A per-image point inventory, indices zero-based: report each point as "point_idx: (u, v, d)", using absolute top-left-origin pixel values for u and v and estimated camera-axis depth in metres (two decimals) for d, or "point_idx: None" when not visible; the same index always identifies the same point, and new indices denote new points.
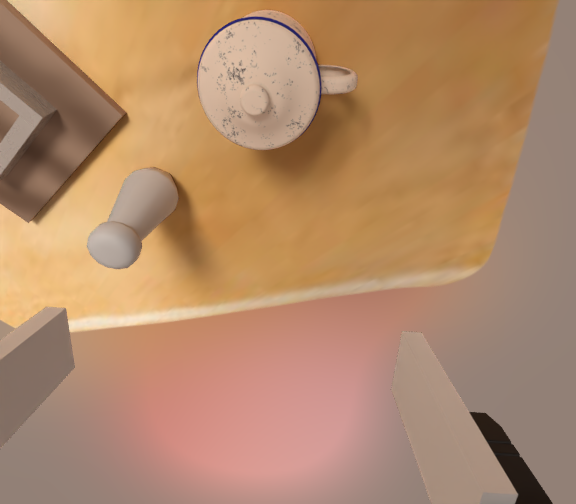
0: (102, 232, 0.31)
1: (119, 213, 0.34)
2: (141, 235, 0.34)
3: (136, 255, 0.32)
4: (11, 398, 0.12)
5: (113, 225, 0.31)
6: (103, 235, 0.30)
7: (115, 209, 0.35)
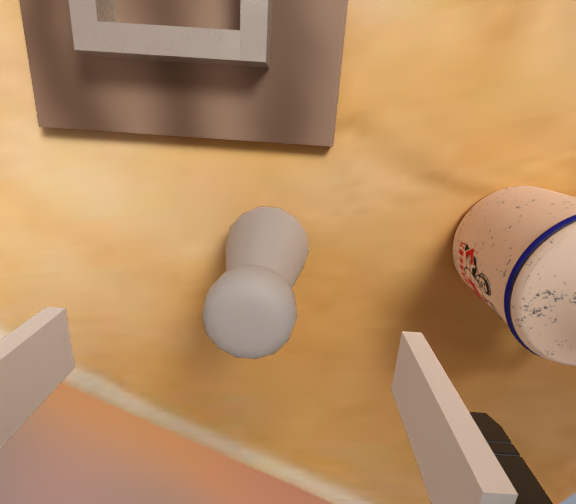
0: (277, 291, 0.16)
1: (274, 262, 0.19)
2: None
3: None
4: (11, 398, 0.12)
5: (287, 287, 0.17)
6: (275, 296, 0.16)
7: (261, 248, 0.20)
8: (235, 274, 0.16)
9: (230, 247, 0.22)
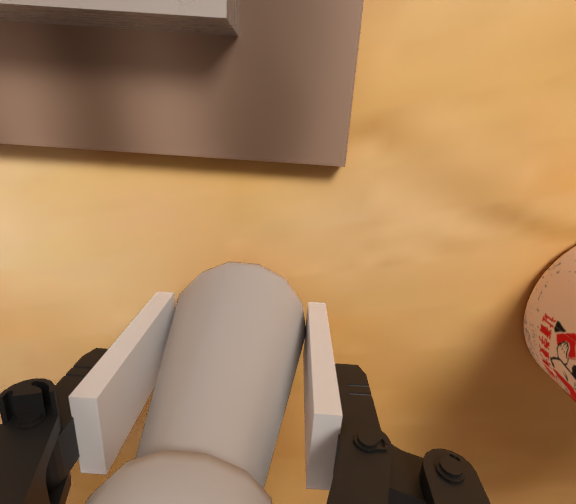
0: None
1: (238, 408, 0.10)
2: None
3: None
4: (148, 367, 0.13)
5: None
6: None
7: (216, 369, 0.10)
8: None
9: (167, 349, 0.12)
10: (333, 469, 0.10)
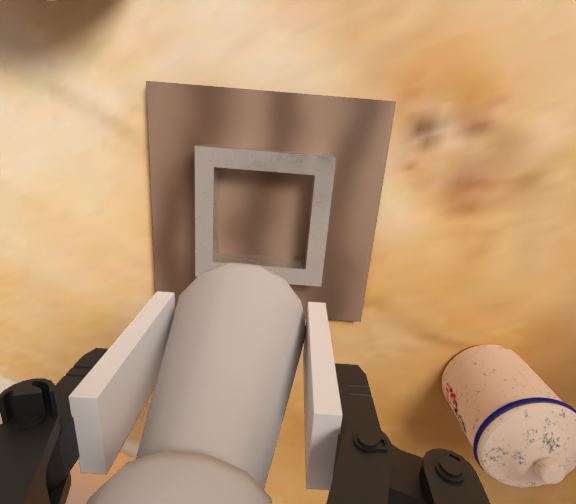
0: None
1: (239, 409, 0.10)
2: None
3: None
4: (148, 367, 0.13)
5: None
6: None
7: (216, 369, 0.10)
8: None
9: (167, 350, 0.12)
10: (333, 469, 0.10)
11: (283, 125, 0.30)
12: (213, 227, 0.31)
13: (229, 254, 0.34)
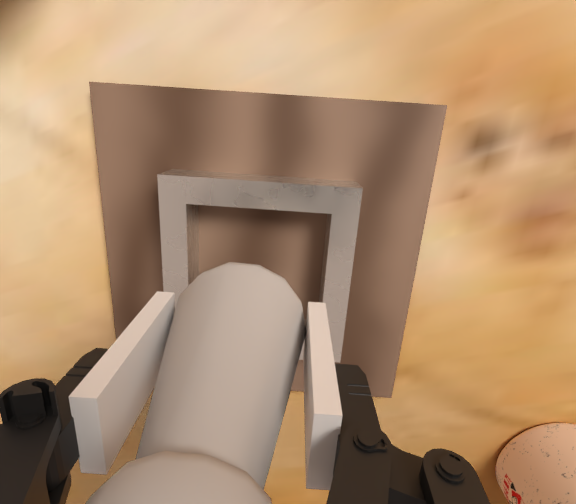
0: None
1: (238, 409, 0.10)
2: None
3: None
4: (148, 367, 0.13)
5: None
6: None
7: (216, 369, 0.10)
8: None
9: (167, 350, 0.12)
10: (333, 469, 0.10)
11: (285, 141, 0.21)
12: None
13: None
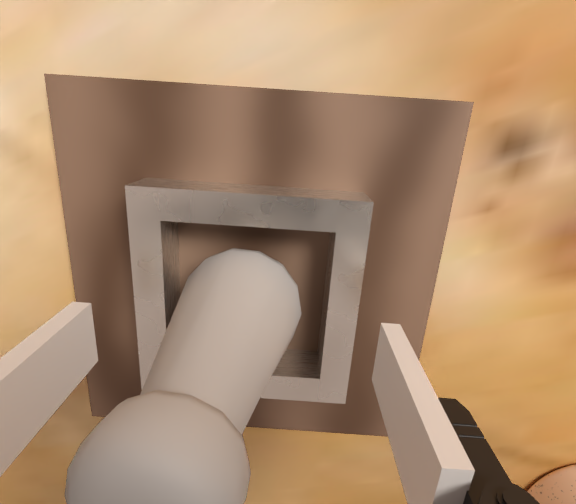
0: (196, 470, 0.08)
1: (224, 367, 0.11)
2: None
3: None
4: (44, 388, 0.12)
5: (228, 444, 0.09)
6: (192, 482, 0.08)
7: (209, 335, 0.12)
8: (122, 426, 0.08)
9: (172, 320, 0.14)
10: None
11: (280, 145, 0.18)
12: (166, 316, 0.18)
13: None
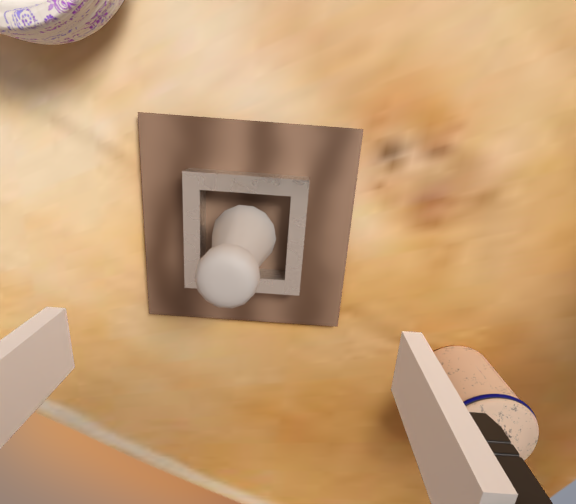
0: (245, 259, 0.24)
1: (246, 243, 0.27)
2: None
3: (243, 303, 0.25)
4: (11, 398, 0.12)
5: (253, 258, 0.25)
6: (244, 262, 0.23)
7: (237, 233, 0.28)
8: (217, 249, 0.24)
9: (215, 234, 0.30)
10: None
11: (262, 150, 0.33)
12: (200, 243, 0.34)
13: None
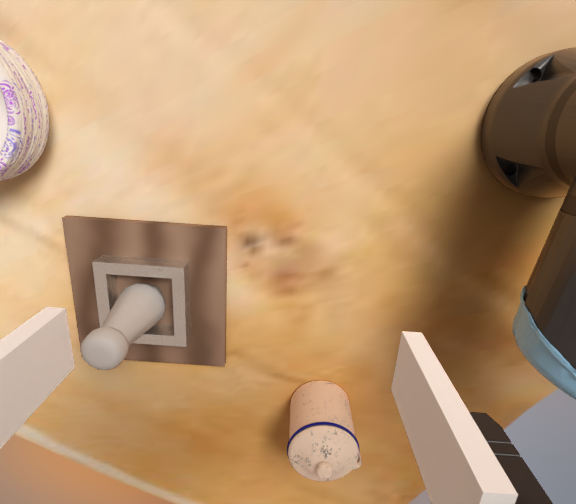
0: (111, 340, 0.36)
1: (124, 322, 0.39)
2: None
3: (115, 366, 0.37)
4: (11, 398, 0.12)
5: (120, 337, 0.37)
6: (110, 342, 0.36)
7: (120, 313, 0.40)
8: (94, 332, 0.36)
9: (110, 311, 0.42)
10: None
11: (154, 243, 0.46)
12: (110, 310, 0.46)
13: None
